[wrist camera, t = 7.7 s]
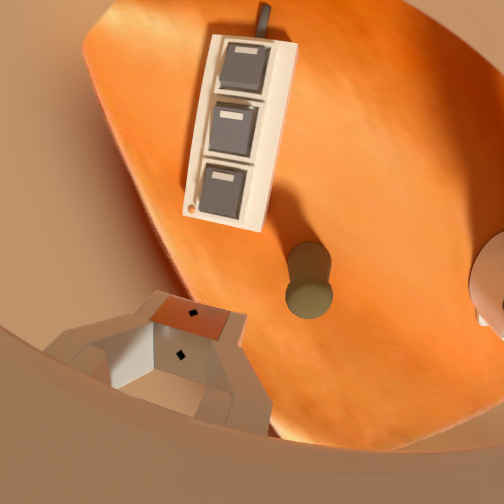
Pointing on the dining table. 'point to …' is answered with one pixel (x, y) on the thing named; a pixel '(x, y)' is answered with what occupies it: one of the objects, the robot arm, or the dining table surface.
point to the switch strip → (262, 135)
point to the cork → (309, 281)
